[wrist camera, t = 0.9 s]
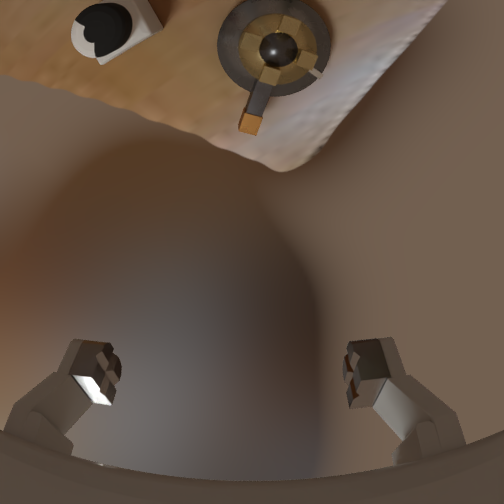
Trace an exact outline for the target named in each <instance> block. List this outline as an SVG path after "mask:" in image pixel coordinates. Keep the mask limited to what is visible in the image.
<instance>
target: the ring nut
mask: <svg viewBox="0 0 504 504" xmlns="http://www.w3.org/2000/svg"><path fill="white" fill-rule="evenodd" d="M238 51H239V56H240V60H241V62H242V64H243V66H244V68H245V69H246V70H247V71H248V72H249V73H250V74H251V75H252V76H253V77H255V78H256V79H255V82H254V85H253V87H252V90H251V93H250V96H249V99H248V101H247V104H246V107H244V109H243V112H242V115H241V118H240V121H239V124H238V129H239V131H240V132H244V133H248V134H252V135H255V136H256V135H257V132H258V129H259V127H260V124H261V121H262V119H263V117H262V115H263V112H264V109H265V107H266V104H267V101H268V99H269V96H270V93H271V91H272V88H273V86H276V84H287V83H291V82H294V81H296V80H298V79H300V78H301V77H303V76H304V75H305V74H306V73H307V72H308V71H309V70H311V71H312V70H313V68H314V65H315V63H316V61H317V58H318V55H317V44H316V40H315V37H314V35H313V33H312V31H311V30H310V29H309V27H308V26H307V25H306V24H304V23H303V22H302V21H300V20H299V19H297V18H295V17H292V16H289V15H285V14H279V13H270V14H265V15H262V16H259V17H257V18H255V19H253V20H252V21H250V22H249V23H248V24H247V25H246V26H245V28H244V29H243V31H242V32H241V35H240V37H239V42H238Z"/></svg>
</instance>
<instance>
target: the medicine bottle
mask: <svg viewBox="0 0 504 504" xmlns="http://www.w3.org/2000/svg"><path fill="white" fill-rule="evenodd" d="M162 30H163V26H162V24H161V23H160V21H159V19H158V17H157V16H156V14H155V12H154V10H153V9H152V7H151V5H150V3H149V2H148V0H103V1H102V2H100V3H99V4H94V5H92V6H89V7H87V8H86V9H84V10H83V11H82V12H81V13H80V14H79V15H78V16H77V18H76V19H75V21H74V23H73V26H72V30H71V38H72V42H73V45H74V47H75V48H76V50H77V51H78V52H79V53H81V54H82V55H84V56H87V57H91V58H96V59H97V60H98V62H99V63H100V64H101V65H103V64H105V63H107V62H108V61H110V60H112V59H113V58H115V57H117V56H118V55H120V54H122V53H123V52H125V51H127V50H128V49H130V48H132V47H133V46H135V45H137V44H138V43H140V42H142V41H144V40H145V39H147V38H149V37H151V36H152V35H154V34H156V33H158V32H160V31H162Z"/></svg>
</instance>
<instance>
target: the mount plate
mask: <svg viewBox="0 0 504 504" xmlns="http://www.w3.org/2000/svg"><path fill="white" fill-rule="evenodd" d="M270 13H279V14H285V15H289V16H292V17H295V18H297V19H299V20H300V21H302V22H303V23H304V24H306V25H307V26H308V27H309V29H310V30H311V31H312V33H313V35H314V37H315V40H316V44H317V55H318V58H317V61H316V63H315V65H314V68H313V70H312V71H311V70H309V71H308V72H307V73H306V74H305V75H304V76H303V77H301V78H300V79H298V80H296V81H294V82H291V83H287V84H276V86H273V88H272V91H271V93H270V96H286V95H290V94H293V93H296V92H299V91H301V90H303V89H305V88H306V87H308V86H309V85H311V84H312V83H313V82H314V81H316V79H317V78H319V79H321V77H322V76H323V74H322V72H323V71H324V69H325V67H326V65H327V62H328V60H329V56H330V47H331V44H330V37H329V32H328V30H327V27H326V25H325V23H324V22H323V20H322V19H321V17H320V16H319V15H318V14H317V13H316V12H315V11H314V10H313V9H312V8H311V7H310V6H308V5H307V4H305V3H303V2H302V1H299V0H247V1H245V2H243V3H241V4H240V5H239V6H237V7H236V8H235V9H234V10H232V11H231V12H230V14H229V15H228V16H227V17H226V19H225V20H224V22H223V24H222V26H221V29H220V31H219V35H218V42H217V49H218V56H219V59H220V62H221V65H222V67H223V69H224V70H225V72H226V73H227V75H228V76H229V77H230V78H231V79H232V80H233V81H234V82H235V83H236V84H238V85H239V86H240V87H242V88H244V89H245V90H248V91H250V92H251V90H252V87H253V85H254V82H255V79H256V78H255V77H253V76H252V75H251V74H250V73H249V72H248V71H247V70H246V69H245V68H244V66H243V64H242V62H241V60H240V56H239V51H238V42H239V37H240V35H241V32H242V31H243V29H244V28H245V26H246V25H247V24H248V23H249V22H250V21H252V20H253V19H255V18H257V17H259V16H262V15H265V14H270Z"/></svg>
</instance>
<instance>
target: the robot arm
mask: <svg viewBox="0 0 504 504" xmlns="http://www.w3.org/2000/svg"><path fill="white" fill-rule="evenodd" d="M113 350H114V348H113V346H112V345H111V343H106V342H98V341H89V340H81V339H73V340H72V341H71V342H70V344H69V347H68V349H67V351H66V353H65V355H64V357H63V360H62V362H61V364H60V366H59V368H58V371H57V372H53V373H52V374H51V375H49V376H48V377H47V378H46V379H44V380H43V381H42V382H41V383H39V384H38V385H37V386H36V387H34V388H33V389H32V390H31V391H29V392H28V393H27V394H26V395H25V396H23V397H22V398H21V399H20V400H18V401H17V402H16V403H15V404H14V405H13V408H12V410H11V413H10V415H9V417H8V420H7V422H6V425H5V428H4V430H3V431H2V430H0V504H504V430H503V431H500V432H498V433H495V434H493V435H491V436H488V437H486V438H483V439H480V440H478V441H475V442H473V443H470V444H467V445H466V442H465V439H464V436H463V432H462V429H461V426H460V423H459V420H458V417H457V415H456V412H455V411H453V410H452V409H451V408H450V407H449V406H447V405H446V404H445V403H444V402H443V401H441V400H440V399H439V398H438V397H436V396H435V395H434V394H433V393H432V392H430V391H429V390H428V389H427V388H426V387H424V386H423V385H422V384H421V383H420V382H418V381H417V380H416V379H415V378H413V377H412V376H411V375H406V373H405V370H404V367H403V364H402V361H401V358H400V355H399V353H398V350H397V347H396V344H395V342H394V339H393V338H392V337H387V338H378V339H376V338H375V339H366V340H357V341H349V343H348V345H347V352H348V354H347V355H345V356H344V360H343V378H344V382H345V383H346V384H347V385H348V386H349V387H348V389H347V392H346V394H347V399H348V403H349V409H353V408H363V407H372V406H373V409H374V410H375V411H376V412H377V413H378V414H379V415H380V416H381V418H382V419H383V420H384V421H385V422H386V423H387V424H388V425H389V426H390V428H391V429H392V430H393V431H394V432H395V433H396V434H397V435H398V436H399V437H400V439H401V440H402V441H403V442H402V443H401V444H400V445H399V446H398V447H397V448H396V450H395V451H394V452H393V453H392V459H393V464H394V466H390V467H385V468H380V469H375V470H370V471H364V472H358V473H351V474H345V475H338V476H329V477H320V478H309V479H298V480H297V479H296V480H280V481H279V480H278V481H226V480H208V479H195V478H184V477H175V476H167V475H159V474H153V473H147V472H141V471H134V470H130V469H124V468H119V467H115V466H110V465H106V464H101V463H97V462H93V461H89V460H86V459H82V458H78V457H75V456H71V453H72V449H73V443H72V442H71V441H70V440H69V439H68V438H67V437H65V436H64V435H65V434H66V432H67V431H68V430H69V429H70V428H71V427H72V426H73V425H74V424H75V423H76V422H77V421H78V419H79V418H80V417H81V416H82V415H83V414H84V413H85V412H86V411H87V410H88V408H89V407H90V406H91V405H92V404H93V403H99V404H106V405H112V403H113V400H114V397H115V394H116V388H115V386H114V385H115V384H116V383H117V382H118V381H120V377H121V370H122V369H121V368H122V366H121V362H120V359H119V357H118V356H117V355H115V354H114V353H113Z"/></svg>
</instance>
